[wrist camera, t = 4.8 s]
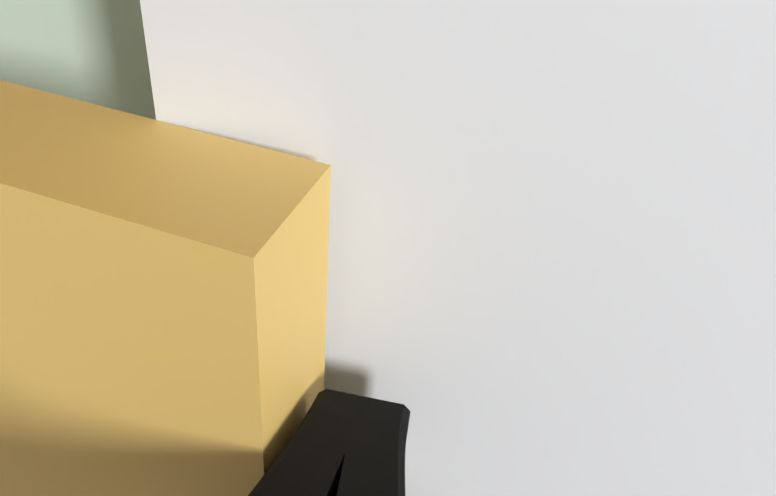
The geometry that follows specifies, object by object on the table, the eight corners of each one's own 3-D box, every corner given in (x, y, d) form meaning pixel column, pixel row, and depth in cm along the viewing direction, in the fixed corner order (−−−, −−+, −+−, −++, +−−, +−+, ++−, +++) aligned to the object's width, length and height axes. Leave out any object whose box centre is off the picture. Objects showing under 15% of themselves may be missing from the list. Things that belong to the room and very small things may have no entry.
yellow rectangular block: (319, 554, 15) (272, 653, 13) (63, 455, 16) (-5, 534, 14) (330, 165, 9) (253, 258, 7) (-62, 64, 10) (-196, 125, 9)
